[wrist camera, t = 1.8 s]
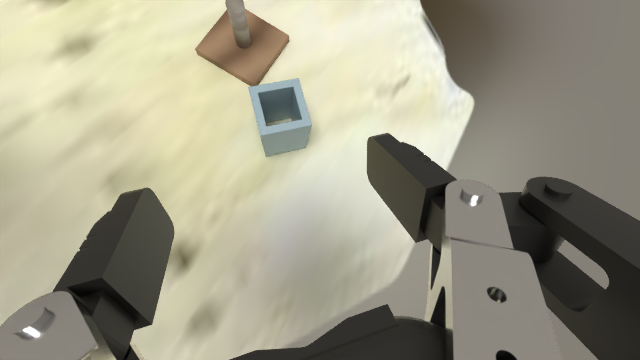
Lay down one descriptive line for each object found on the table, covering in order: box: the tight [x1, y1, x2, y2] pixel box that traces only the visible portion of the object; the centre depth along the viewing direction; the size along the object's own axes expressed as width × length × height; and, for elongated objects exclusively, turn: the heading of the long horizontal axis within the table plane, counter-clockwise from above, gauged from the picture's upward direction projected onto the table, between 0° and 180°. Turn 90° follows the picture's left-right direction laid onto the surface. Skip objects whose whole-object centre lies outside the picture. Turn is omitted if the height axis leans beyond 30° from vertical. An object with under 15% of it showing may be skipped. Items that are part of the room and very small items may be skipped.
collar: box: [248, 78, 312, 156], centre depth 34 cm, size 6×6×9 cm
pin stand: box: [195, 0, 289, 86], centre depth 36 cm, size 10×10×8 cm
